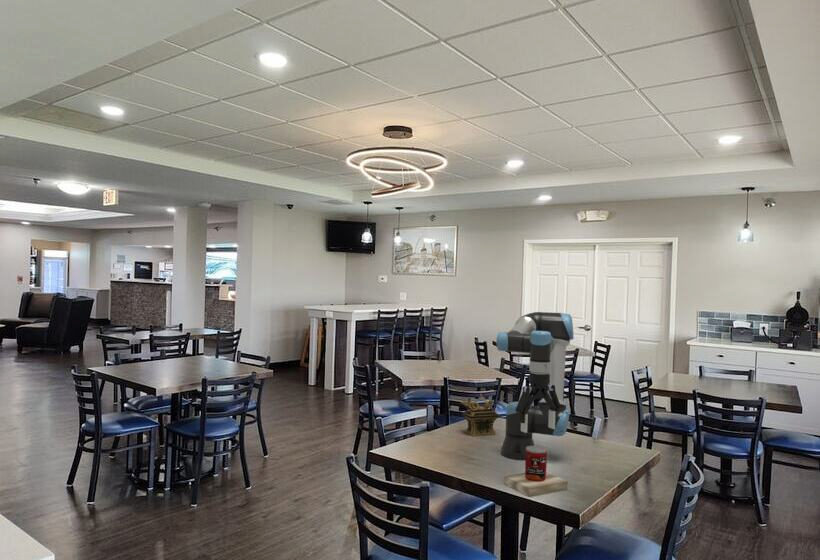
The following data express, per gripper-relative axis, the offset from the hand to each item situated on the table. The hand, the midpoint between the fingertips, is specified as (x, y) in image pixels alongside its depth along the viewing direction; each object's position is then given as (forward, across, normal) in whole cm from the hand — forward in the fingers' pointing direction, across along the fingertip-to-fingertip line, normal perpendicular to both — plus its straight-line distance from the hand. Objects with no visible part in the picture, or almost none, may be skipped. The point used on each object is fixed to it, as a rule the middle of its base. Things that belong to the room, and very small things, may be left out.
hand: (537, 430), depth 207 cm
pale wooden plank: (+21, -1, -1) cm, 21 cm away
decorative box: (+22, +25, +70) cm, 78 cm away
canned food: (+18, -1, 0) cm, 18 cm away
